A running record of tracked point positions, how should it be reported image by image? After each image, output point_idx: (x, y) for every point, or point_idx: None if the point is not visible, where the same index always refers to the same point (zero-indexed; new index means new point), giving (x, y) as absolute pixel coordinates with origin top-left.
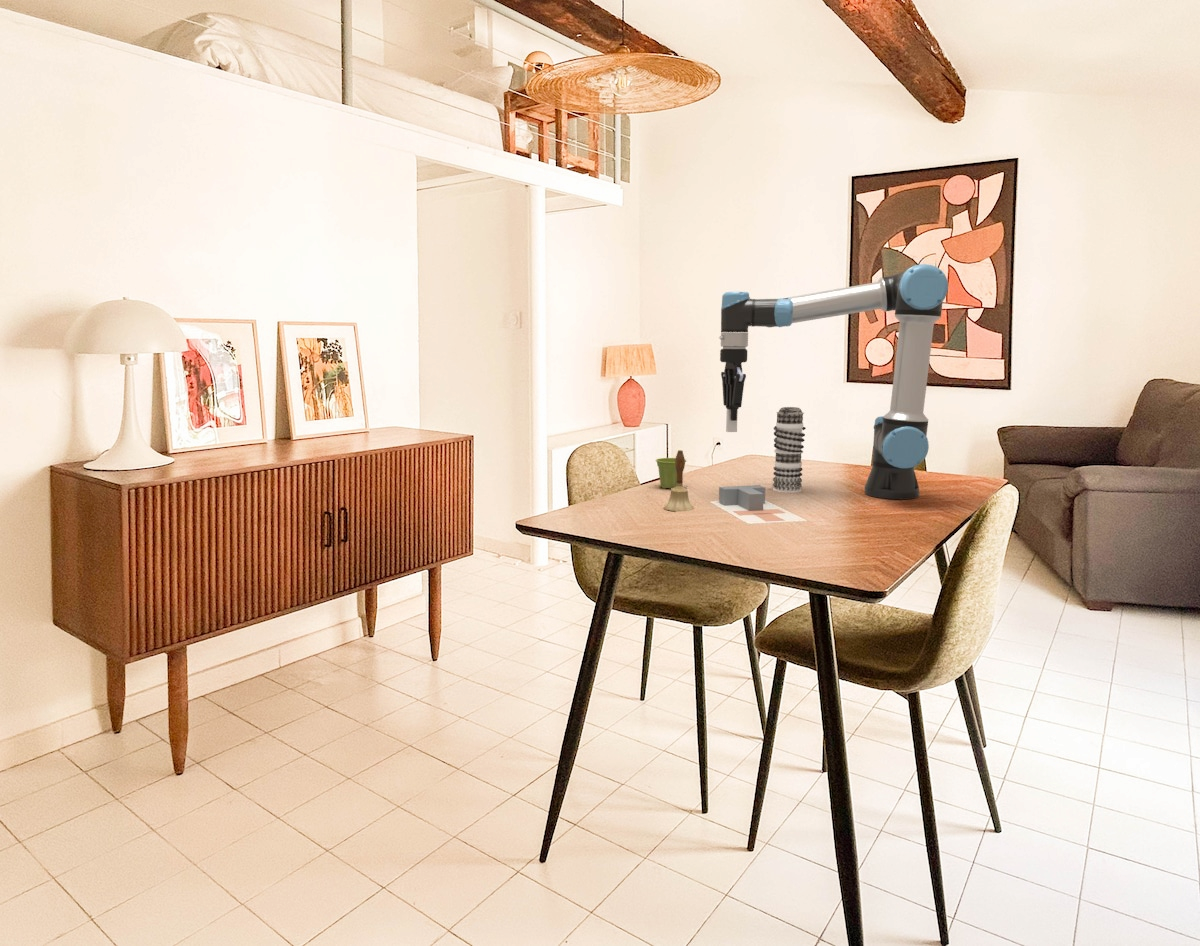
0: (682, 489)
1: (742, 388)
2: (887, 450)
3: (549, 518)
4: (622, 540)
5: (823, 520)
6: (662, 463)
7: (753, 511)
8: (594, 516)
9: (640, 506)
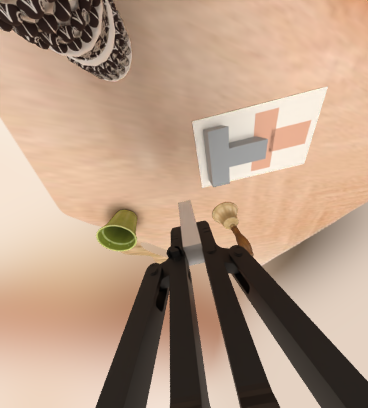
0: (237, 222)
1: (332, 347)
2: None
3: None
4: (299, 239)
5: (334, 54)
6: (133, 244)
7: None
8: None
9: None
